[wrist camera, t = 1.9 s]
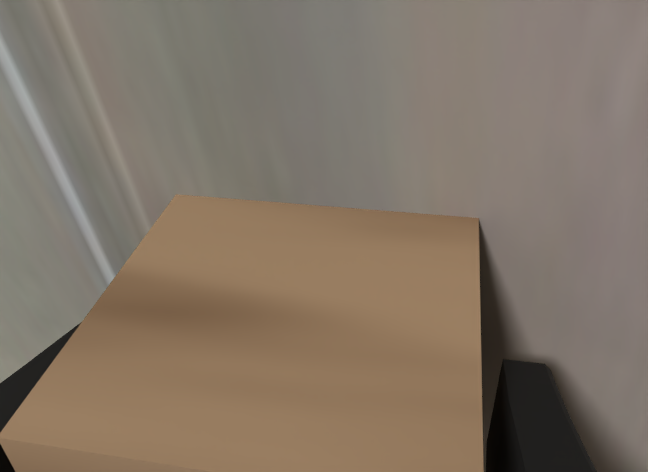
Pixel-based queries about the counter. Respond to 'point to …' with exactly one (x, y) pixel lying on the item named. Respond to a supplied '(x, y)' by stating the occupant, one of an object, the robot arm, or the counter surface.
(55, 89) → the counter surface
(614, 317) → the counter surface
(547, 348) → the counter surface
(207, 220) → the walnut block
